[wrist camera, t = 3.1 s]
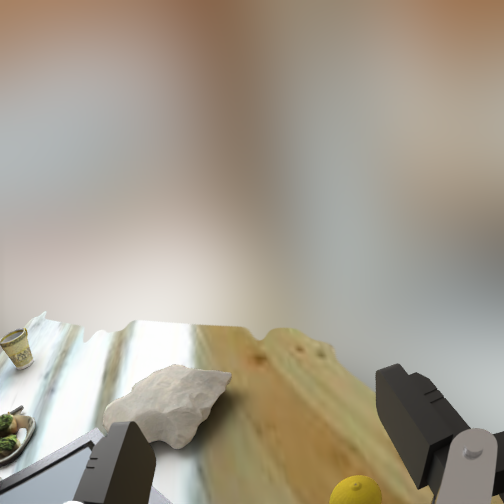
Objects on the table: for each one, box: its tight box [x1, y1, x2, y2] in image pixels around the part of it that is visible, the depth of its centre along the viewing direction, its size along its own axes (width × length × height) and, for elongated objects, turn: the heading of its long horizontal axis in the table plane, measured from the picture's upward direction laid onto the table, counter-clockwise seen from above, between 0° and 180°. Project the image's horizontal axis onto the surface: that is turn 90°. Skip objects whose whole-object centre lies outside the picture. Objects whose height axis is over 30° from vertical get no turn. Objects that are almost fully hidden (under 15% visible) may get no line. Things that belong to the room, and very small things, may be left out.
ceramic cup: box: [0, 328, 34, 370], centre depth 77 cm, size 13×10×10 cm
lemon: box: [329, 475, 382, 504], centre depth 25 cm, size 6×6×8 cm
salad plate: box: [0, 406, 36, 466], centre depth 44 cm, size 19×18×5 cm
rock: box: [103, 364, 232, 449], centre depth 49 cm, size 19×7×25 cm
